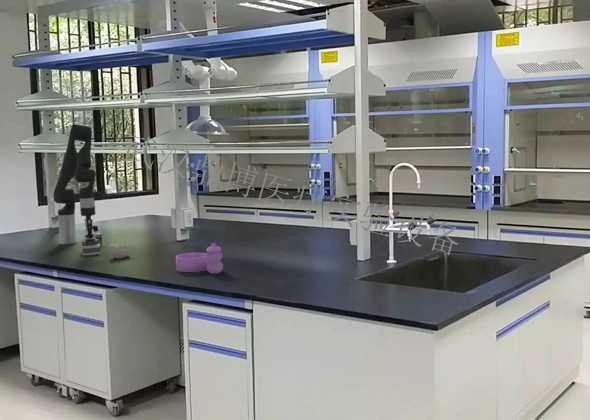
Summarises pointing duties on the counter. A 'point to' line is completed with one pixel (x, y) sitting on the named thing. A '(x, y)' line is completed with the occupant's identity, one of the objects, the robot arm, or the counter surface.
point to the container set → (201, 261)
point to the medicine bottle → (96, 234)
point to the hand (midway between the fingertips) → (89, 237)
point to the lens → (87, 235)
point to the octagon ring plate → (90, 247)
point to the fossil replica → (118, 250)
